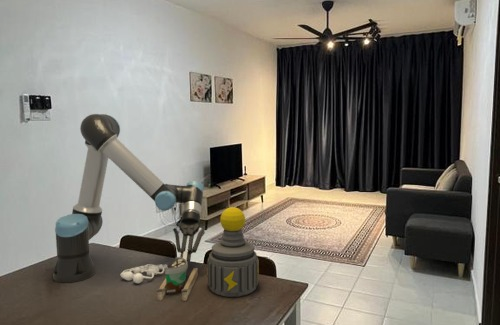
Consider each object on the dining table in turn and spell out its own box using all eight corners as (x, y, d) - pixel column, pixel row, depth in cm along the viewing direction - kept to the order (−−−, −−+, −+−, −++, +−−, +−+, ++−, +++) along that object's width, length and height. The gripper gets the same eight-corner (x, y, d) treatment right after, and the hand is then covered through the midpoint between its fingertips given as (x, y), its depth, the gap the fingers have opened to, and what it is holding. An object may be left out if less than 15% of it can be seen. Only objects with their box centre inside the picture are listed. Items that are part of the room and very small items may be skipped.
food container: (182, 297, 135) (182, 269, 134) (165, 296, 136) (164, 268, 135) (192, 282, 147) (191, 257, 146) (176, 281, 148) (176, 256, 147)
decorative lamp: (203, 298, 134) (202, 213, 131) (211, 276, 153) (210, 201, 150) (258, 298, 134) (258, 213, 130) (258, 277, 152) (258, 202, 149)
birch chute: (156, 300, 132) (156, 290, 132) (172, 274, 154) (172, 266, 154) (186, 300, 132) (186, 290, 132) (198, 275, 154) (197, 266, 153)
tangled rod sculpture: (152, 266, 167) (151, 257, 167) (176, 270, 159) (176, 260, 159) (114, 280, 151) (113, 270, 151) (139, 286, 143) (139, 275, 143)
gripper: (207, 219, 164) (202, 273, 150) (177, 219, 165) (168, 272, 150) (205, 210, 158) (199, 265, 144) (174, 210, 159) (164, 264, 144)
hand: (183, 268), depth 147 cm, fingers closed
